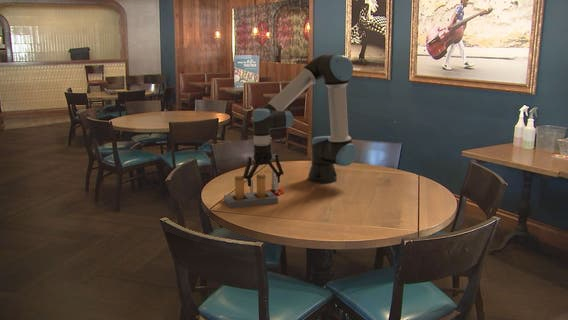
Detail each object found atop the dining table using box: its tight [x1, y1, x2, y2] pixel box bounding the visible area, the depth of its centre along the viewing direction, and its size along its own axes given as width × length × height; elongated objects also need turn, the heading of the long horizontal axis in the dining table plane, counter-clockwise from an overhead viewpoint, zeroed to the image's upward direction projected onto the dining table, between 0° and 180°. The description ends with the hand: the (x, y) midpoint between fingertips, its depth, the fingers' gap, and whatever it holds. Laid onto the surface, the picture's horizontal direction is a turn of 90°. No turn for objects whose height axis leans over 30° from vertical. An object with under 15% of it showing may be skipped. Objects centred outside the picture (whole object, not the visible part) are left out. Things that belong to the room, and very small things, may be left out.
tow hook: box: [266, 169, 285, 196], centre depth 234 cm, size 8×13×9 cm
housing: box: [223, 190, 279, 209], centre depth 220 cm, size 22×12×2 cm, turn 108°
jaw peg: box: [256, 173, 267, 198], centre depth 221 cm, size 4×4×12 cm
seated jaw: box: [234, 175, 245, 200], centre depth 218 cm, size 4×4×12 cm
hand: (264, 191), depth 222 cm, fingers open, 11 cm apart
